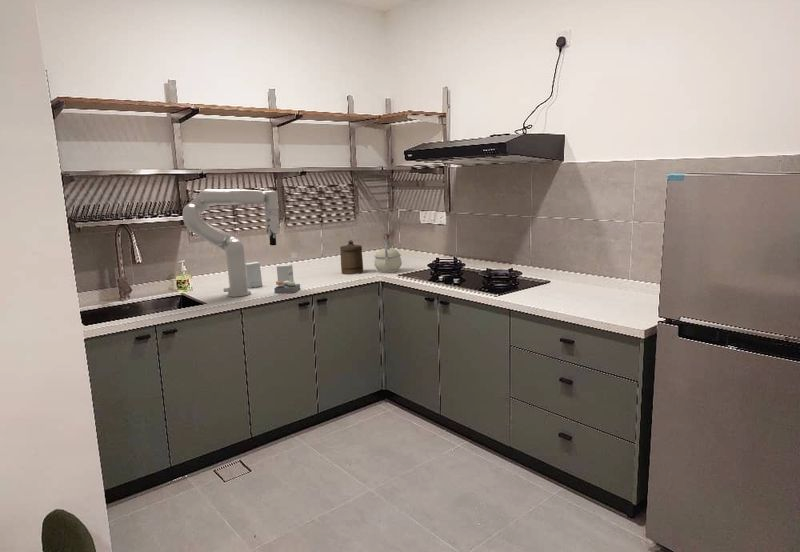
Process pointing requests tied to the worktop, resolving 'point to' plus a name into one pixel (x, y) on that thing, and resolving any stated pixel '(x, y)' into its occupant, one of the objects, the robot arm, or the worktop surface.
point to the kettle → (387, 259)
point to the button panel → (287, 288)
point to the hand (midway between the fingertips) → (273, 245)
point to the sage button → (291, 283)
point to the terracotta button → (279, 282)
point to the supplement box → (285, 273)
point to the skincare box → (253, 274)
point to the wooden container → (351, 258)
